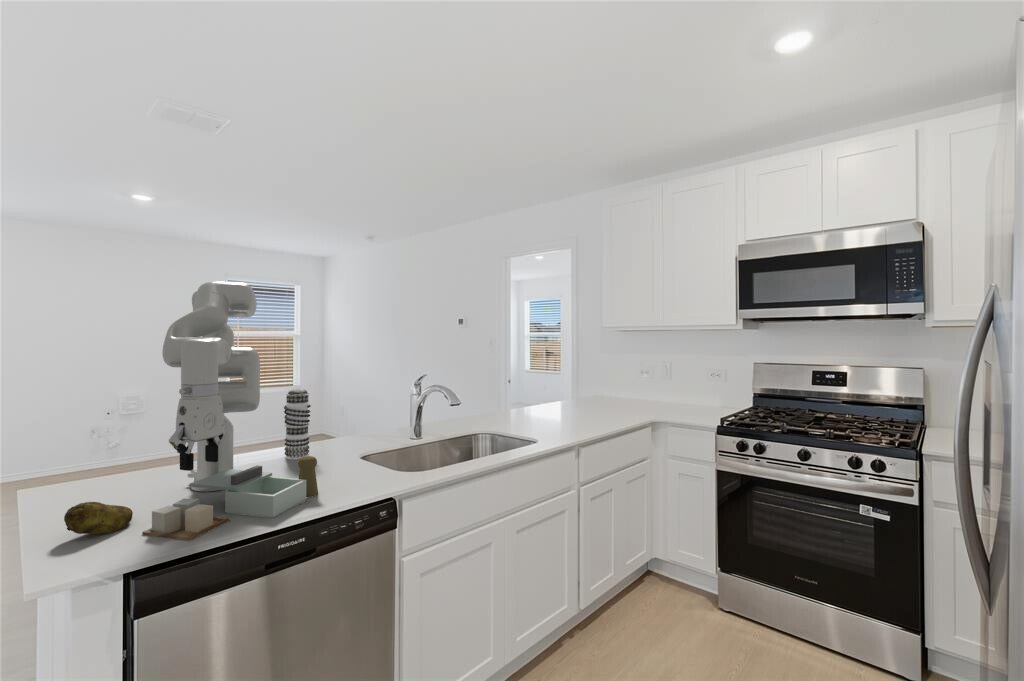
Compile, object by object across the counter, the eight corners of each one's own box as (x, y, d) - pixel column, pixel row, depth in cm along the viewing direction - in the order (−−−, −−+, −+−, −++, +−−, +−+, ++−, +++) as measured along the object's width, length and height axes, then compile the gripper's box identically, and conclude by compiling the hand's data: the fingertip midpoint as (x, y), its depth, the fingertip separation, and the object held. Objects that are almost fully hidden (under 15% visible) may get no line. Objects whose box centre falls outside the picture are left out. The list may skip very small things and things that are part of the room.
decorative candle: (295, 452, 193) (296, 387, 192) (315, 454, 190) (316, 389, 189) (277, 458, 184) (278, 390, 183) (298, 460, 181) (298, 392, 181)
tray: (142, 536, 116) (142, 531, 116) (185, 517, 127) (185, 513, 127) (190, 542, 113) (190, 537, 113) (230, 522, 125) (230, 518, 125)
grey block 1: (151, 532, 117) (151, 511, 117) (168, 526, 121) (168, 505, 121) (164, 535, 116) (164, 513, 115) (180, 528, 119) (180, 507, 119)
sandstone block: (185, 531, 118) (185, 510, 118) (198, 524, 122) (198, 504, 122) (199, 532, 117) (199, 511, 117) (213, 526, 121) (213, 505, 121)
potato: (138, 530, 119) (138, 497, 119) (66, 547, 109) (66, 511, 109) (130, 521, 124) (130, 489, 124) (61, 536, 115) (60, 501, 115)
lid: (189, 486, 132) (189, 474, 132) (229, 471, 145) (229, 460, 145) (236, 491, 129) (236, 478, 129) (272, 475, 143) (272, 464, 143)
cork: (310, 498, 143) (310, 460, 142) (291, 496, 144) (291, 458, 144) (322, 491, 149) (322, 455, 148) (304, 490, 150) (304, 453, 150)
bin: (225, 514, 130) (225, 491, 130) (262, 496, 144) (262, 475, 143) (273, 519, 127) (273, 496, 127) (306, 500, 141) (306, 479, 141)
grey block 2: (172, 524, 122) (172, 504, 122) (183, 518, 126) (183, 498, 126) (188, 524, 122) (188, 504, 121) (199, 518, 126) (199, 498, 125)
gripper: (182, 396, 110) (182, 477, 110) (240, 387, 127) (239, 457, 127) (153, 395, 111) (153, 474, 111) (214, 386, 128) (214, 455, 128)
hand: (199, 465), depth 119 cm, fingers open, 6 cm apart
